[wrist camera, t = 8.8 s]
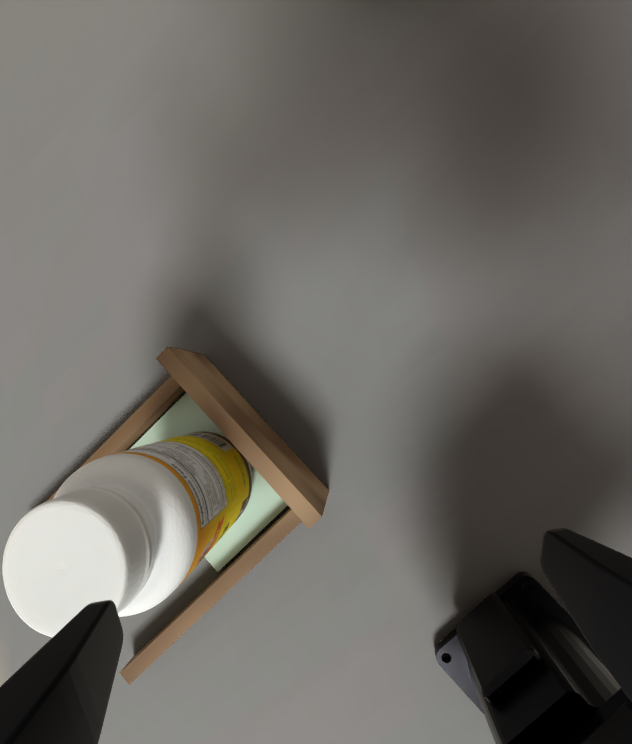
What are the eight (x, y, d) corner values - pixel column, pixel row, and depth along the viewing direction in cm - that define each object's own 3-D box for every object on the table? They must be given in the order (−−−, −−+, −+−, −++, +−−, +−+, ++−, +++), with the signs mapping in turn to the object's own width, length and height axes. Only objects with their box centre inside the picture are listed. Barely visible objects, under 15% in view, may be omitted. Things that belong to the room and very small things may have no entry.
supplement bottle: (183, 543, 20) (9, 697, 10) (149, 451, 21) (-50, 512, 11) (272, 507, 20) (181, 633, 10) (234, 414, 20) (111, 441, 10)
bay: (329, 490, 20) (322, 516, 16) (142, 667, 21) (91, 734, 17) (203, 354, 21) (167, 346, 17) (31, 527, 22) (-42, 558, 18)
